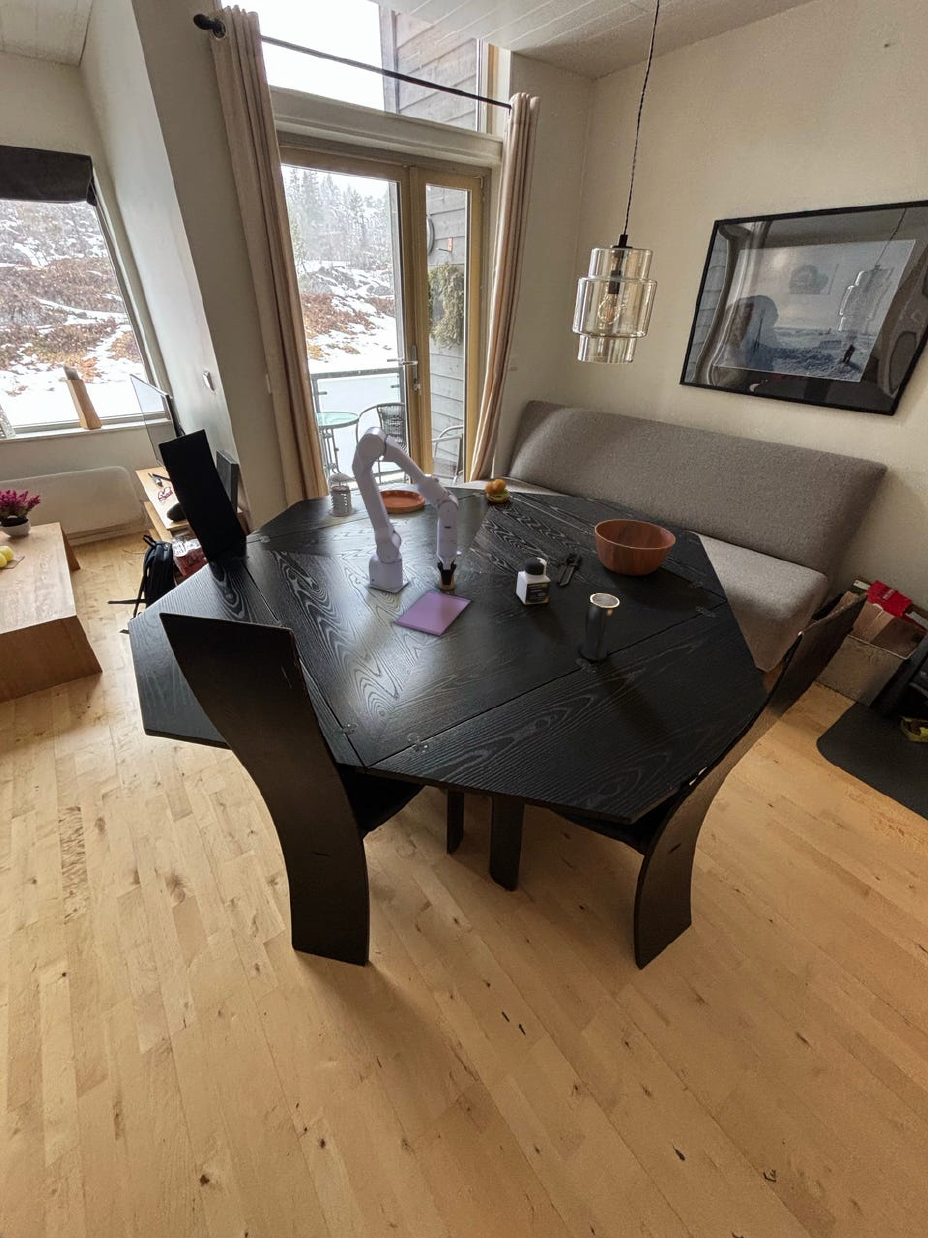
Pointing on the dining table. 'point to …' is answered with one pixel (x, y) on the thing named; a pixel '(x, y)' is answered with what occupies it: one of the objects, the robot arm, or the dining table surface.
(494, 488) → the cheeseburger
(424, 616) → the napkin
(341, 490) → the french press
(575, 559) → the knife
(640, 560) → the bowl
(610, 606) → the beer glass
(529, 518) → the dining table surface
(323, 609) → the dining table surface
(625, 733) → the dining table surface
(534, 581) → the medicine bottle
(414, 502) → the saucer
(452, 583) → the salt mill
